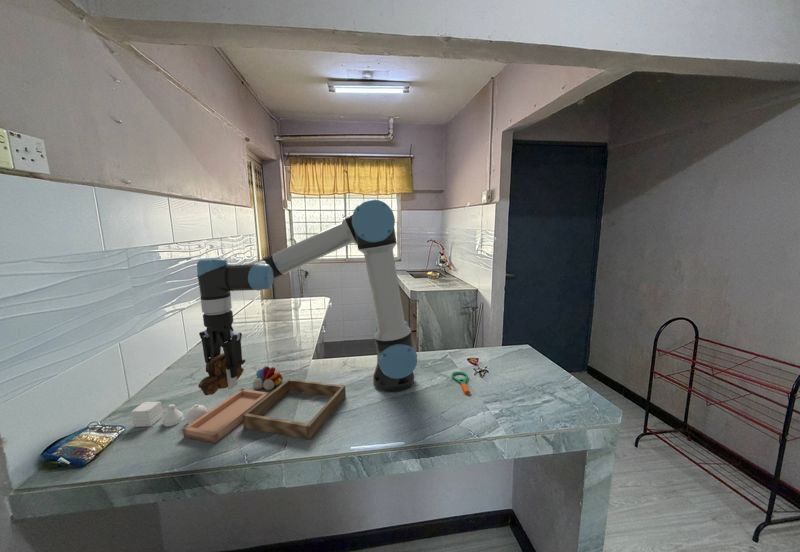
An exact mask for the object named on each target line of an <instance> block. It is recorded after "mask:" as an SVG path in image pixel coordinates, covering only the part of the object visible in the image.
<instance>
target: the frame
mask: <svg viewBox="0 0 800 552" xmlns="http://www.w3.org/2000/svg"><path fill="white" fill-rule="evenodd" d="M289 392H296V393H303V394H311V395H317V396H324V397H330V399H329V400H328V401H327V402H326V403H325V405H324V406H322V407H321V409H320V410H319V411H318V412H317V413H316V414H315V416H313V418H312V419H311V420H310V421H309V422H308V423H306V422H299V421H294V420H288V419H283V418H282V419H281V418H277V417H276V418H275V417H270V416H265V415H264V414H265V413H266V412H268V411H269V410H270V409H271V408H272V407H273V406H275V405H276V403H278V402H279V401H280V400H281V399H283V398H284V397H285V396H286V395H288V394H289ZM346 394H347V393H346V385H342V384H335V383H334V384H332V383H325V382H316V381H310V380H308V381H307V380H302V379H293V378H288V379H286V380H285V381H283V383H280V384H279V386H277V387H276V388H275V389H273V390H272V391H271V392H269V395H267V396H266V397H265V398H263V399H262V400H261V401H260V402H258V403H257V404H256V405H254V406H253V407H252V408H251V409H249V410H248V411H247V412H245V413H244V414H243V415H242V418H243V422H242V426H243V428H244V429H250V430H254V431H255V430H256V431H260V432H267V433H272V434H276V435H282V436H286V437H293V438H298V439H299V438H300V439H303V440H309V441H311V440H312V439H313V438H314V436H315V435H316V434H317V433H318V432H319V430H320V429H322V427H323V425H324V424H325V423H326V422H327V420H328V419H329V418H330V417H331V416H332V414H333V413H334V412H335V411H336V409H337V408H338V407H339V406H340V405H341V403H342V402H343V401H344V400H345V398H346V397H347V396H346ZM263 415H264V416H263Z"/></svg>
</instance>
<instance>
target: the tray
mask: <svg viewBox="0 0 800 552" xmlns="http://www.w3.org/2000/svg"><path fill="white" fill-rule="evenodd" d="M269 394H270V392H266V391H259V390H258V391H257V390H254V389H247V388H246V389H244V388H241V389H240V390H238V391H236V392H235V393H234V394H232V395H231V396H229V397H228V398H226V399H224V400H223V401H221V402H220V403H219V404H217V405H216V406H214V407H213V408H211V409H210V410H207V413H205V414H204V415H203V416H201V417H200V418H198V419H197V420H195V421H194V422H192V423H191V424H189V425H186V426H184V428H182V433H183V438H186V439H192V440H196V441H197V440H198V441H200V442H201V441H202V442H206V443H210V444H217V443H218V442H220V440H221V439H223V438H224V437H225V436H227V435H228V434H229V433H231V432H232V431H233V430H234V429H236V427H238V426H239V425H241V423H243V418H242V415H243V414H244V413H245V412H247V411H248V410H249V409H251V408H252V407H253V406H254V405H256V404H257V403H258V402H260V401H261V400H262V399H263V398H265V397H266V396H267V395H269Z"/></svg>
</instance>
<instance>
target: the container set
mask: <svg viewBox="0 0 800 552" xmlns="http://www.w3.org/2000/svg"><path fill="white" fill-rule="evenodd" d="M163 412H164V411H163V408H162V402H161V401H145V402H142V403H141V404H139V405H138V406H136V407H135V408H134V409H133V410H132V411H131V413H130V414H131V418H132V419H131V420H132V424H133V426H134V427H135V428H136V427H138V428H139V427H151V426H153V425H154V424H155V423H156V422H158V421H159V420H160V419H161V418H162V417H163V415H164V417H163V419H162V424H163V426H165V427H172V426H175V425H177V424H180V423H181V422H182V421H183V420H184V413H183V412H182V411H180V410H178V409H177V408H176V404H173V403H171V404H169V405H167V412H166V413H165V414H164V413H163ZM207 412H208V409H207V408H206V406H204V405H202V404H198V403H197V404H194V405H193V406H192V407H191V408H189V410H188V412H187V424H188V425H189V424H191V423H192V422H194V421H195V420H197V419H198V418H200V417H201V416H203V415H204V414H205V413H207ZM188 425H187V426H188Z"/></svg>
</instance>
